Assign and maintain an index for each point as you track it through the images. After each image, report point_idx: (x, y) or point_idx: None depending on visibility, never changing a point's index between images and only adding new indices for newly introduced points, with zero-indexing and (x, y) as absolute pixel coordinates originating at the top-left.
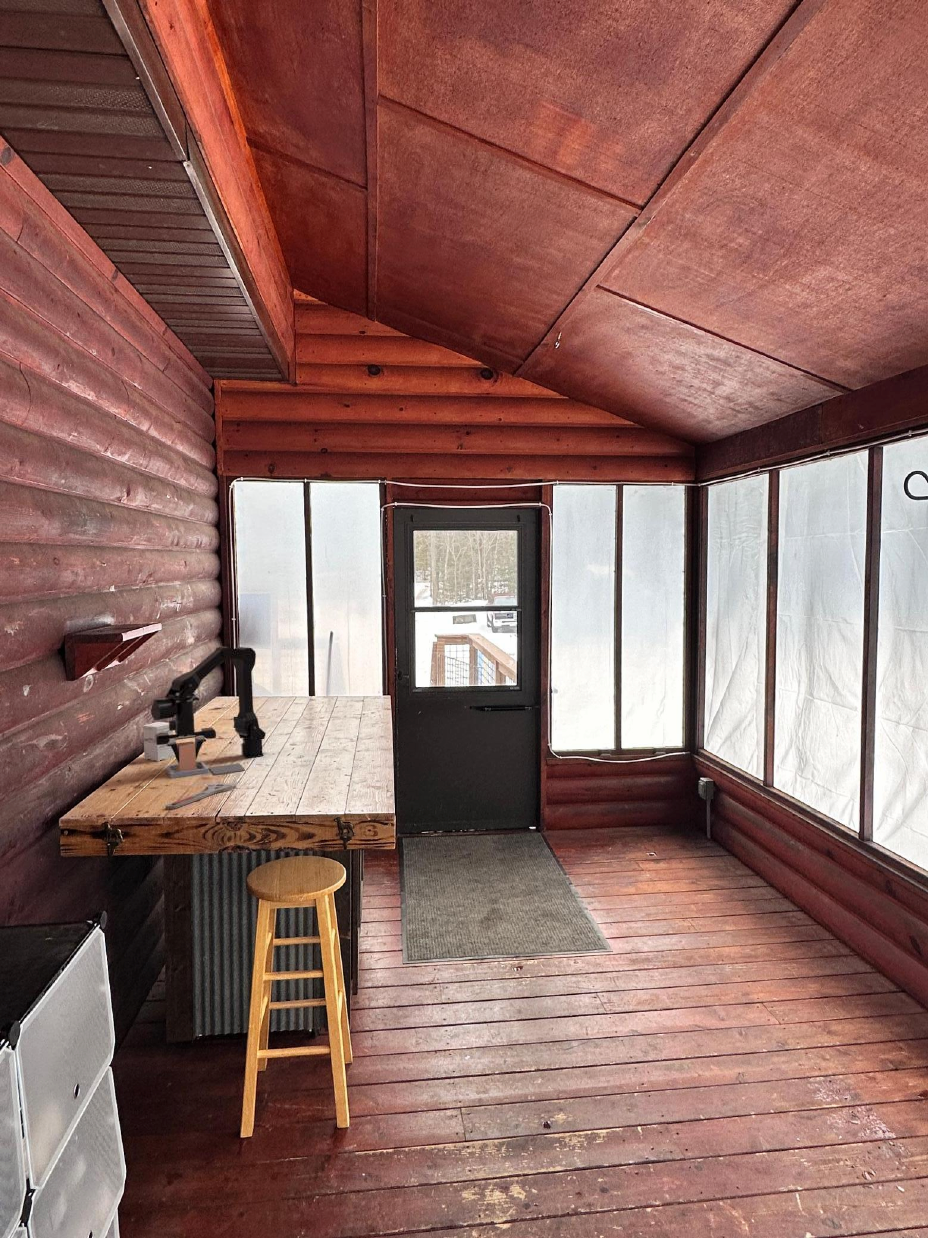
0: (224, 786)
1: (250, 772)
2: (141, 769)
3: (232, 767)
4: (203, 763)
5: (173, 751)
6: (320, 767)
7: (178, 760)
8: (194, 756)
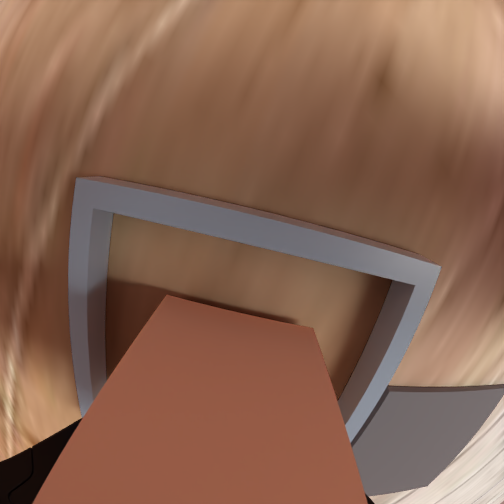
0: None
1: (415, 497)
2: (20, 32)
3: (439, 447)
4: (393, 366)
5: (21, 467)
6: (497, 487)
7: None
8: None
